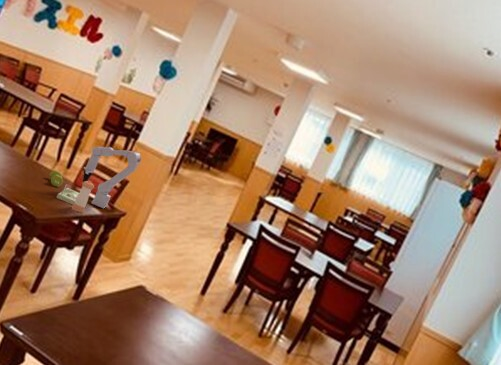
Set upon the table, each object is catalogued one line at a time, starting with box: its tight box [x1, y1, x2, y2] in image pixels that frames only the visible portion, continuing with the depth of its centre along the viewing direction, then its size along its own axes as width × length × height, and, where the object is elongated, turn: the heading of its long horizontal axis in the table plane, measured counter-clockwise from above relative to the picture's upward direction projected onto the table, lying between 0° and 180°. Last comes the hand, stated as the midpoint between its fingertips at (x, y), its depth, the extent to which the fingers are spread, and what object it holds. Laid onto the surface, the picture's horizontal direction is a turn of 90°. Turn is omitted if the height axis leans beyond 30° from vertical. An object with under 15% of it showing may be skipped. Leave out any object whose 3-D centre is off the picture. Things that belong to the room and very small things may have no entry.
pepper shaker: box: [71, 180, 95, 213], centre depth 310 cm, size 7×7×19 cm
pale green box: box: [56, 183, 80, 205], centre depth 328 cm, size 14×24×10 cm, turn 8°
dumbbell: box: [49, 169, 64, 188], centre depth 345 cm, size 16×8×7 cm, turn 25°
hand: (84, 182), depth 344 cm, fingers closed
